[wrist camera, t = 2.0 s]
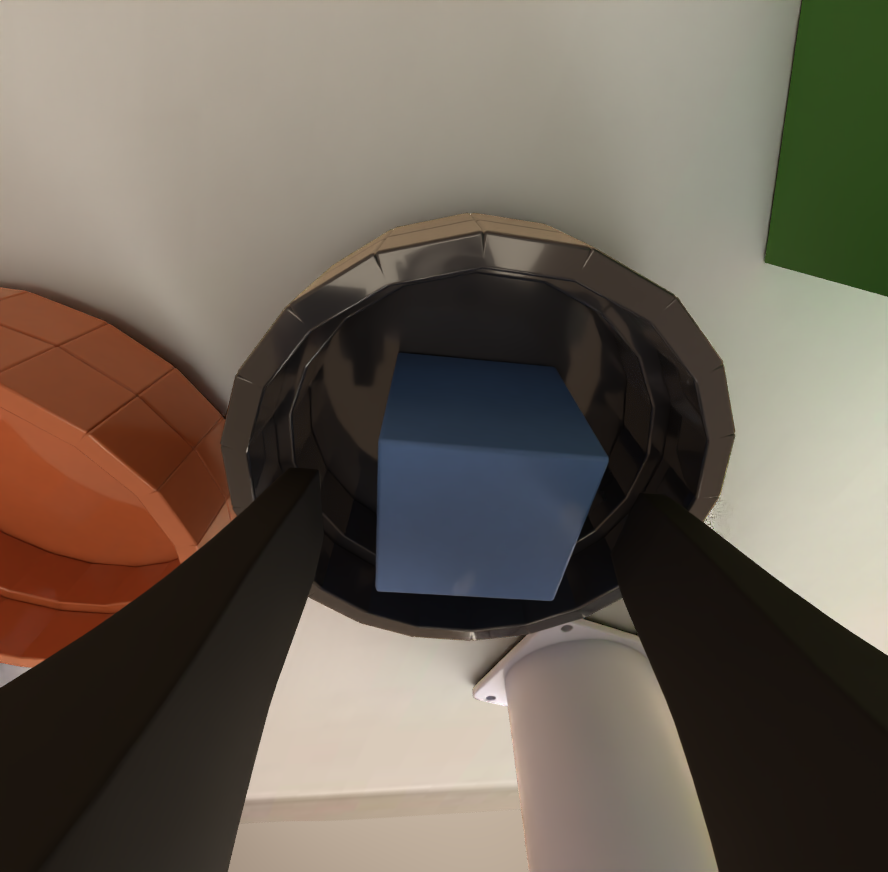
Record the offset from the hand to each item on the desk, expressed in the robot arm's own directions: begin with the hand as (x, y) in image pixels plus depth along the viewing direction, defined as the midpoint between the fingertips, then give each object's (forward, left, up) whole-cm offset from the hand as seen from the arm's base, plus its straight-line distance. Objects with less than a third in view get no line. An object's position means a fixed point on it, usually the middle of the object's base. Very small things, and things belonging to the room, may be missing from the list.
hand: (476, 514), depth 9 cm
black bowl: (0, 0, -5) cm, 5 cm away
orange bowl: (+11, +7, -4) cm, 14 cm away
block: (0, 0, -4) cm, 4 cm away
